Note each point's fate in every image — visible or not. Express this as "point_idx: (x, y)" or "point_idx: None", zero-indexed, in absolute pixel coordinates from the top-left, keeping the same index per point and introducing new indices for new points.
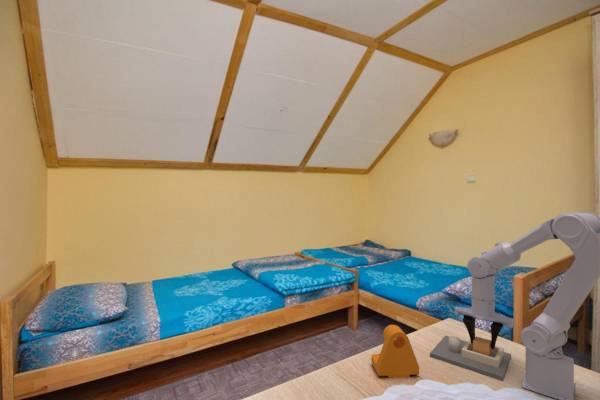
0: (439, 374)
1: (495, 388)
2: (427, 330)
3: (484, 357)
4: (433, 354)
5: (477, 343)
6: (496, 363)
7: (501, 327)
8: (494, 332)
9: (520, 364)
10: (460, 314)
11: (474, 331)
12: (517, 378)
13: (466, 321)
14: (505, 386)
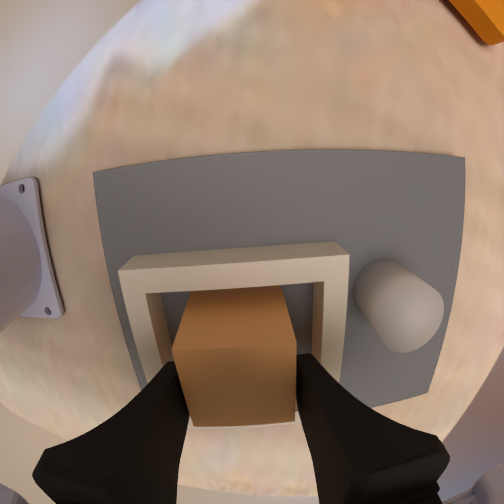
0: (359, 12)
1: (113, 74)
2: (475, 385)
3: (198, 263)
4: (450, 156)
5: (259, 337)
6: (135, 262)
7: (36, 482)
8: (104, 442)
9: (111, 380)
10: (462, 496)
11: (310, 442)
12: (69, 250)
13: (414, 456)
14: (83, 130)
